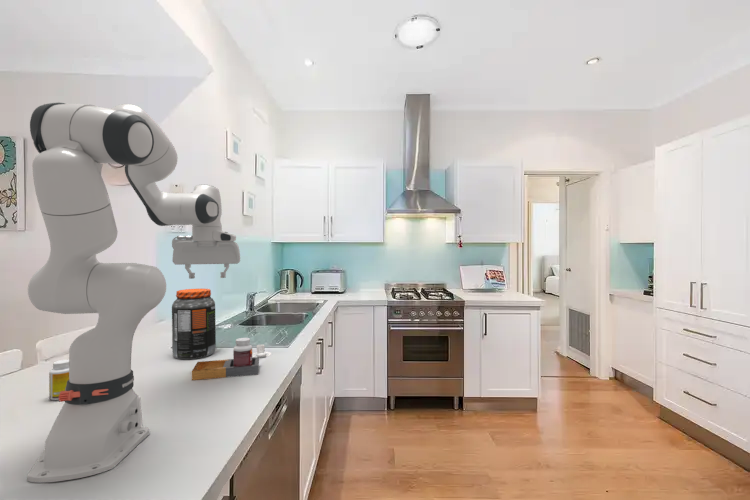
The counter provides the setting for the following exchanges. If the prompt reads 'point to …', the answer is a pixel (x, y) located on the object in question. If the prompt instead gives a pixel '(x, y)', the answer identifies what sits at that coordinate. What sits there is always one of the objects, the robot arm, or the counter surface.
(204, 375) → the rail
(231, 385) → the counter surface
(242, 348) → the pill bottle
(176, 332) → the supplement tub
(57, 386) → the supplement bottle
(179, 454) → the counter surface
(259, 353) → the white looped piece
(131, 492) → the counter surface
